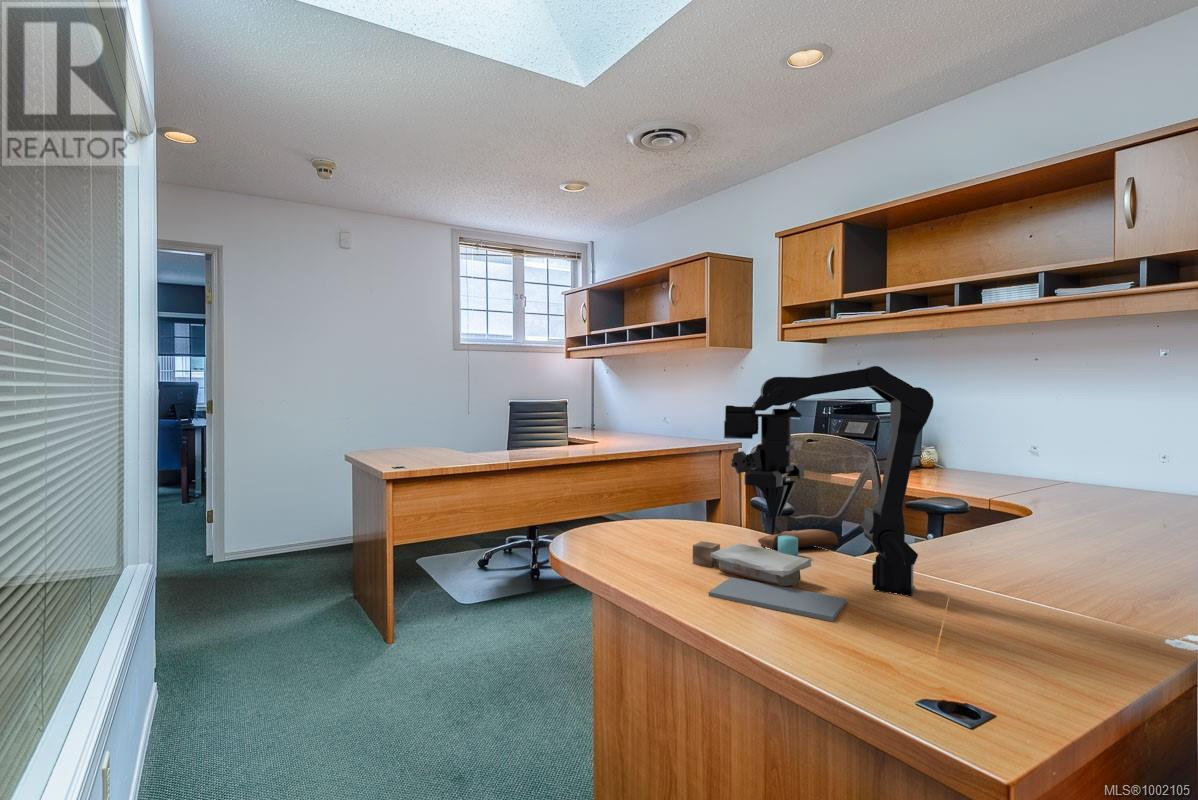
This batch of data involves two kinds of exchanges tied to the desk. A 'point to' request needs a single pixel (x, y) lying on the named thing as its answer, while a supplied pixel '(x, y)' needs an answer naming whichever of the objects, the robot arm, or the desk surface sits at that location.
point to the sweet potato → (802, 538)
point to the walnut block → (704, 553)
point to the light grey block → (761, 564)
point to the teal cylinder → (788, 545)
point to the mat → (780, 598)
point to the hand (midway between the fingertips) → (775, 517)
